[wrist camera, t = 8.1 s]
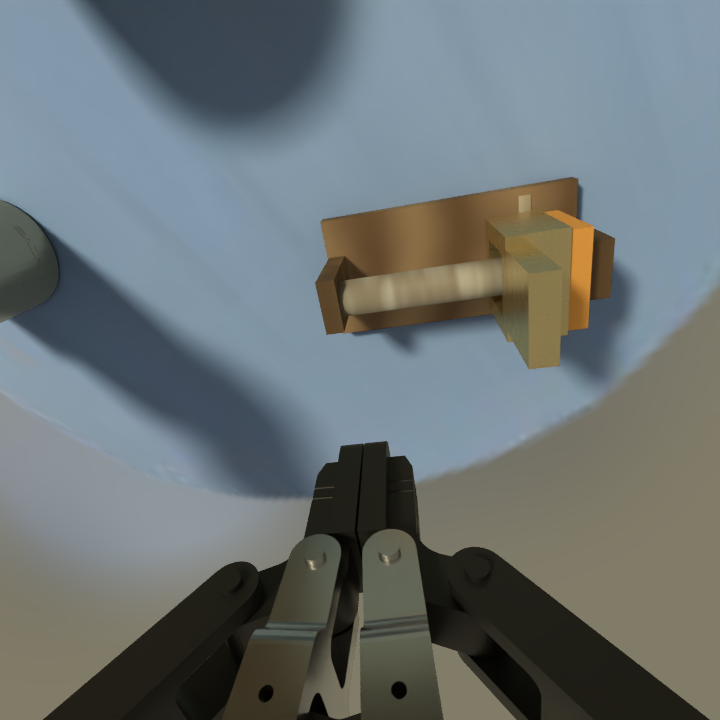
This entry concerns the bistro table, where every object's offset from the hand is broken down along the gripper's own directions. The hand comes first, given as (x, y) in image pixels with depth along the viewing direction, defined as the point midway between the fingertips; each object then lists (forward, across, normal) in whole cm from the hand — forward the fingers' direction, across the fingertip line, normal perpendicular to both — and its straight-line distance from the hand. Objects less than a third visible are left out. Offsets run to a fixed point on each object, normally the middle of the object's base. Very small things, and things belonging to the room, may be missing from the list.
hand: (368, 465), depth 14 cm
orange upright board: (+20, -12, 0) cm, 23 cm away
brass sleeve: (+20, -9, 0) cm, 22 cm away
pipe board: (+23, -5, 0) cm, 24 cm away
